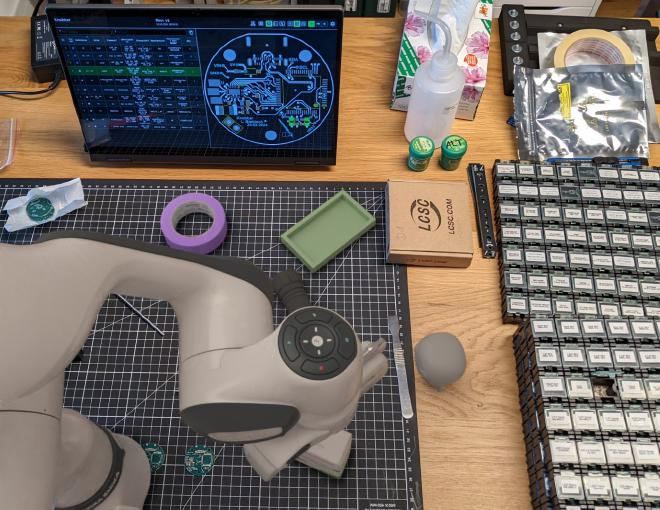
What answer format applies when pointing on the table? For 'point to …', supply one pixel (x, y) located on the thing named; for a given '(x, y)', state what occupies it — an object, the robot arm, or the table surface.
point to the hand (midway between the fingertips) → (320, 424)
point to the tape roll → (186, 206)
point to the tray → (327, 230)
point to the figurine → (440, 359)
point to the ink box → (329, 454)
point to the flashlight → (291, 290)
